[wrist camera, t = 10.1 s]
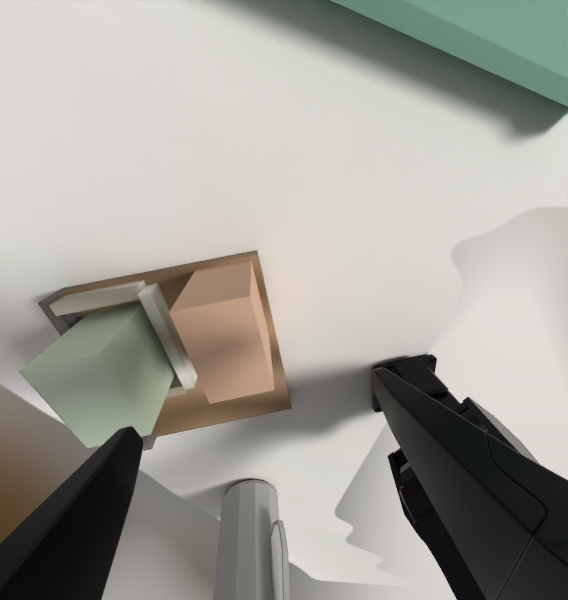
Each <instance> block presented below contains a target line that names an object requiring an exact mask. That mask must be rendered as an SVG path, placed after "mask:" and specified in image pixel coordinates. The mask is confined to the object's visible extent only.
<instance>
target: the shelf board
mask: <svg viewBox="0 0 568 600" xmlns="http://www.w3.org/2000/svg"><path fill="white" fill-rule="evenodd" d="M247 260H251V261H252V265H253V269H254V274H255V278H256V282H257V286H258V290H259V295H260V299H261V303H262V307H263V312H264V316H265V320H266V324H267V328H268V333H269V340H270V350H271V360H272V370H273V380H274V390H273V391H268V392H263V393H259V394H254V395H249V396H244V397H240V398H235V399H230V400H225V401H221V402H216V403H211V404H210V403H209V401H208V399H207V397H206V394H205V392H204V390H203V388H202V385H201V383H200V381H199V379H198V376H197V374H196V372H195V370H194V367H193V365H192V363H191V361H190V358H189V356H188V354H187V352H186V349H185V347H184V345H183V343H182V340H181V338H180V336H179V334H178V331H177V329H176V327H175V325H174V322H173V320H172V318H171V316H170V313H169V312H170V310H171V308H172V307H173V305H174V304H175V302H176V300H177V299H178V297H179V296H180V294H181V292H182V291H183V289H184V288H185V286H186V284H187V283H188V281H189V280H190V278H191V277H192V275H193V273H194V272H195V271H196V270H201V269H206V268H211V267H216V266H221V265H227V264H232V263H237V262H242V261H247ZM137 303H142V305H143V307H144V309H145V311H146V313H147V315H148V317H149V319H150V321H151V323H152V325H153V327H154V329H155V331H156V333H157V335H158V337H159V339H160V341H161V343H162V345H163V347H164V349H165V351H166V353H167V355H168V357H169V359H170V361H171V363H172V365H173V367H174V369H175V371H176V373H175V375H174V378H173V380H172V383H171V385H170V388H169V390H168V393H167V395H166V398H165V400H164V403H163V405H162V408H161V410H160V413H159V415H158V418H157V420H156V423H155V425H154V428H153V430H152V433H151V435H147V436H142V437H141V438H142V439H143V451H145V450H150V449H152V448H153V445H154V442H155V440H156V437H159V436H163V435H168V434H173V433H178V432H182V431H187V430H192V429H196V428H201V427H206V426H211V425H215V424H220V423H225V422H229V421H234V420H239V419H243V418H248V417H253V416H258V415H262V414H267V413H272V412H276V411H281V410H286V409H291V402H290V397H289V392H288V387H287V383H286V378H285V374H284V369H283V365H282V360H281V356H280V351H279V347H278V342H277V338H276V333H275V329H274V324H273V320H272V315H271V311H270V306H269V302H268V297H267V293H266V288H265V284H264V279H263V275H262V270H261V266H260V261H259V256H258V252H257V251H252V252H247V253H241V254H236V255H231V256H226V257H221V258H216V259H211V260H206V261H200V262H195V263H190V264H185V265H180V266H175V267H170V268H165V269H159V270H154V271H149V272H144V273H139V274H134V275H129V276H124V277H118V278H113V279H108V280H103V281H98V282H93V283H88V284H83V285H78V286H72V287H67V288H63V289H61V290H60V291H58V292H56V293H54V294H53V295H51V296H49V297H48V298H46V299H44V300H42V301H41V302H39V303H38V304H39V306H40V307H41V308H42V310H43V311H44V312H45V314H46V315H47V317H48V318H49V319H50V321H51V322H52V324H53V325H54V326H55V328H56V329H57V331H58V332H59V333H60V335H61V336H62V335H63V334H64V333H66V332H67V331H68V330H69V329H71V328H72V327H73V326H74V325H75V324H77V323H78V322H79V321H80V320H81V319H83V318H84V317H85V316H86V315H88V314H89V313H92V312H97V311H102V310H107V309H112V308H117V307H122V306H127V305H132V304H137Z"/></svg>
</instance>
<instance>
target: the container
mask: <svg viewBox="0 0 568 600" xmlns="http://www.w3.org/2000/svg"><path fill="white" fill-rule="evenodd" d="M330 1H332V2H335V3H337V4H339V5H341V6H344V7H346V8H348V9H350V10H353V11H355V12H357V13H359V14H362V15H364V16H366V17H368V18H370V19H373V20H375V21H377V22H379V23H382V24H384V25H386V26H388V27H391V28H393V29H395V30H397V31H400V32H402V33H404V34H406V35H408V36H411V37H413V38H415V39H417V40H420V41H422V42H424V43H426V44H429V45H431V46H433V47H435V48H438V49H440V50H442V51H444V52H446V53H449V54H451V55H453V56H455V57H458V58H460V59H462V60H464V61H467V62H469V63H471V64H473V65H476V66H478V67H480V68H482V69H485V70H487V71H489V72H491V73H493V74H496V75H498V76H500V77H502V78H505V79H507V80H509V81H511V82H514V83H516V84H518V85H520V86H523V87H525V88H527V89H529V90H531V91H534V92H536V93H538V94H540V95H543V96H545V97H547V98H549V99H552V100H554V101H556V102H558V103H561V104H563V105H565V106H567V107H568V0H330Z"/></svg>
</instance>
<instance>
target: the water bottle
mask: <svg viewBox="0 0 568 600" xmlns="http://www.w3.org/2000/svg"><path fill="white" fill-rule="evenodd" d="M281 549H282V551H281ZM288 568H289V566H288V548H287V540H286V533H285V529H284V524H283V521H281V520H279V512H278V498H277V490H276V489H275V488H274V486H272V485H270V484H269V483H267V482H265V481H260V480H248V481H242V482H240V483H238V484H236V485H234V486H232V487H230V489H229V490H228V492H227V493H226V495H225V496H224V498H223V501H222V511H221V522H220V532H219V543H218V554H217V565H216V575H215V585H214V595H213V600H290V598H289V569H288Z"/></svg>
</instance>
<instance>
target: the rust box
mask: <svg viewBox="0 0 568 600" xmlns="http://www.w3.org/2000/svg"><path fill="white" fill-rule="evenodd" d="M169 313H170V316H171V318H172V320H173V322H174V325H175V327H176V329H177V331H178V334H179V336H180V338H181V340H182V343H183V345H184V347H185V349H186V352H187V354H188V356H189V358H190V361H191V363H192V365H193V367H194V370H195V372H196V374H197V376H198V379H199V381H200V383H201V385H202V388H203V390H204V392H205V394H206V397H207V399H208V401H209V403H210V404H211V403H216V402H221V401H225V400H230V399H235V398H240V397H244V396H249V395H254V394H259V393H263V392H268V391H273V390H274V380H273V370H272V360H271V350H270V340H269V333H268V328H267V324H266V320H265V316H264V312H263V307H262V303H261V299H260V295H259V290H258V286H257V282H256V278H255V274H254V269H253V265H252V261H251V260H247V261H242V262H237V263H232V264H227V265H221V266H216V267H211V268H206V269H201V270H196V271H195V272H194V273H193V275H192V277H191V278H190V280H189V281H188V283H187V284H186V286H185V288H184V289H183V291H182V292H181V294H180V296H179V297H178V299H177V300H176V302H175V304H174V305H173V307H172V308H171V310H170V312H169Z"/></svg>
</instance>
